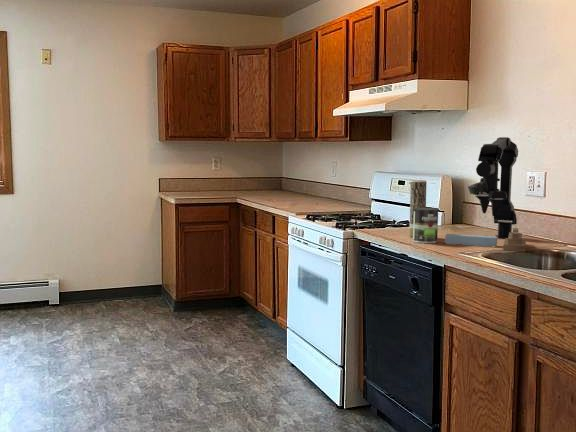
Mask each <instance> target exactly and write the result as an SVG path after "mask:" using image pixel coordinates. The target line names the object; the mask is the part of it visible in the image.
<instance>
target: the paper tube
mask: <svg viewBox="0 0 576 432" xmlns="http://www.w3.org/2000/svg"><path fill="white" fill-rule="evenodd" d="M409 189H410V195H409V196H410V197H409V198H410V199H409V237H410V238H413V223H414V208H417V207H427V180H425V179H424V180H423V179H411V180H410V188H409Z"/></svg>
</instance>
